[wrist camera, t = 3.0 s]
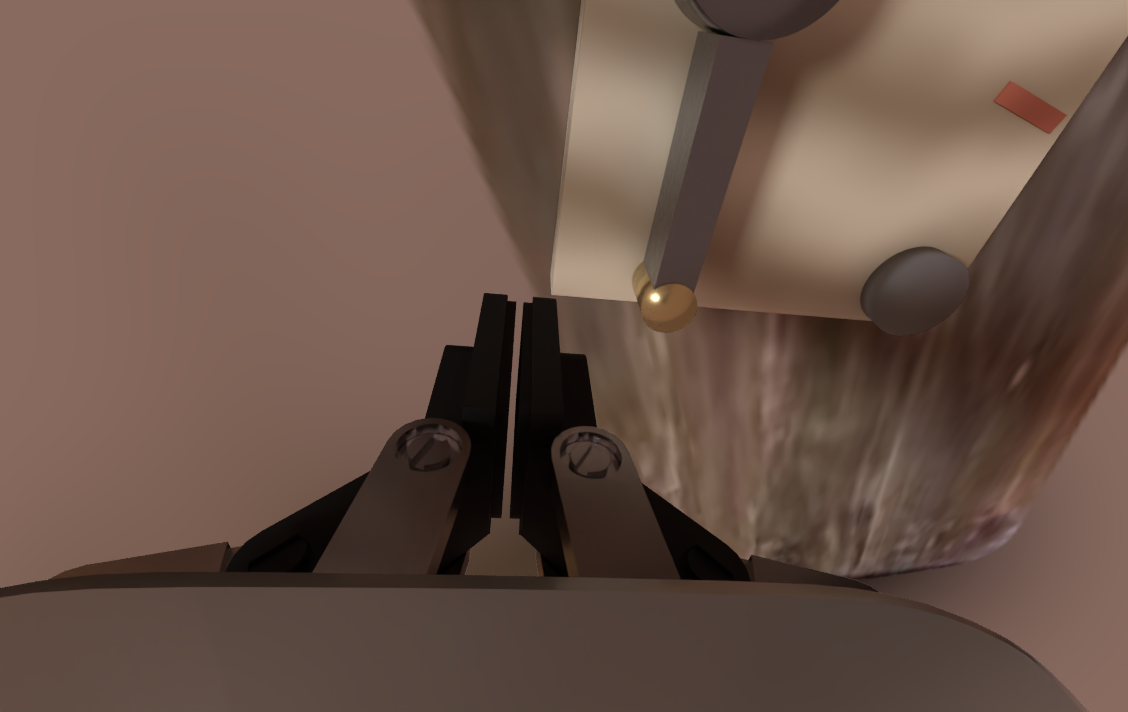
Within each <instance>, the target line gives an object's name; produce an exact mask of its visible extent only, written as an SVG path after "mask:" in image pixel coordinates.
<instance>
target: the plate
mask: <svg viewBox="0 0 1128 712" xmlns="http://www.w3.org/2000/svg"><path fill="white" fill-rule="evenodd" d="M698 31H702V32H709V31H707V30H704V29H702V28H700V27H698V26H697V25H695V24H694V23H692V22H691V21H690V20H689V19H688V18H687V17H686V16H685V15H684V14H683V13H682V12H681V10H680V9H679V8H678V6H677V4H676V3H675V1H674V0H581V8H580V17H579V26H578V35H577V44H576V53H575V61H574V70H573V79H572V88H571V97H570V106H569V114H568V123H567V132H566V141H565V150H564V159H563V168H562V176H561V185H560V194H559V203H558V212H557V221H556V229H555V238H554V247H553V256H552V265H551V274H550V277H551V295H562V296H574V297H586V298H598V299H610V300H622V301H634V302H637V299H636V296H635V293H634V290H633V287H632V276H633V273H634V271H635V269H636V268H637V267H638V265H639V264H640V263H642V262H643V261H644V257H645V252H646V248H647V244H648V240H649V236H650V231H651V227H652V223H653V219H654V215H655V210H656V206H657V202H658V198H659V193H660V189H661V185H662V181H663V177H664V172H665V168H666V164H667V160H668V156H669V151H670V147H671V143H672V139H673V135H674V130H675V126H676V122H677V118H678V114H679V109H680V105H681V101H682V97H683V93H684V88H685V84H686V80H687V76H688V71H689V67H690V63H691V59H692V55H693V50H694V46H695V42H696V38H697V34H698ZM709 33H713V32H709ZM715 34H717V33H715ZM1127 36H1128V0H839V1H838V2H837V3H836V5H835V6H834V7H833V8H831V9H830V10H829V11H828V12H827V13H826V14H825V15H823V16H822V17H821V18H820V19H818V20H817V21H815V22H814V23H812V24H811V25H810V26H808V27H806V28H804V29H802V30H800V31H799V32H796V33H794V34H791V35H789V36H786V37H782V38H778V39H773V40H760V41H766V42H771V43H774V45H773V48H772V51H771V54H770V57H769V60H768V63H767V67H766V70H765V73H764V76H763V79H762V82H761V85H760V88H759V92H758V95H757V98H756V101H755V104H754V107H753V110H752V113H751V117H750V120H749V123H748V126H747V129H746V132H745V135H744V138H743V141H742V145H741V148H740V151H739V154H738V157H737V160H736V163H735V166H734V170H733V173H732V176H731V179H730V182H729V185H728V188H727V191H726V195H725V198H724V201H723V204H722V207H721V210H720V213H719V216H718V220H717V223H716V226H715V229H714V232H713V235H712V238H711V241H710V244H709V248H708V251H707V254H706V257H705V260H704V263H703V266H702V269H701V273H700V276H699V279H698V282H697V285H696V288H695V291H694V294H695V296H696V299H697V304H698V306H697V307H707V308H719V309H731V310H743V311H756V312H768V313H780V314H792V315H804V316H816V317H828V318H840V319H853V320H865V321H873V322H874V323H875V324H876V325H877V326H878V327H879V328H880V329H881V330H882V331H884V332H886V333H888V334H891V335H896V336H905V335H912V334H916V333H920V332H922V331H925V330H927V329H930V328H932V327H933V326H935V325H937V324H939V323H940V322H942V321H943V320H944V319H946V318H947V317H948V316H949V315H950V314H951V313H953V312H954V311H955V309H956V308H957V307H958V306H959V305H960V303H961V302H962V300H963V299H964V297H965V295H966V293H967V291H968V288H969V283H970V277H969V272H968V270H967V269H968V267H969V266H970V265H971V263H972V262H973V260H974V259H975V257H976V256H977V254H978V253H979V251H980V250H981V248H982V247H983V246H984V244H985V243H986V241H987V240H988V238H989V237H990V235H991V234H992V232H993V231H994V230H995V228H996V227H997V225H998V224H999V222H1000V221H1001V219H1002V218H1003V216H1004V215H1005V214H1006V212H1007V211H1008V209H1009V208H1010V206H1011V205H1012V203H1013V202H1014V200H1015V199H1016V197H1017V196H1018V195H1019V193H1020V192H1021V190H1022V189H1023V187H1024V186H1025V184H1026V183H1027V181H1028V180H1029V179H1030V177H1031V176H1032V174H1033V173H1034V171H1035V170H1036V168H1037V167H1038V165H1039V164H1040V163H1041V161H1042V160H1043V158H1044V157H1045V155H1046V154H1047V152H1048V151H1049V149H1050V148H1051V146H1052V145H1053V144H1054V142H1055V141H1056V139H1057V138H1058V136H1059V135H1060V133H1061V132H1062V130H1063V129H1064V128H1065V126H1066V125H1067V123H1068V122H1069V120H1070V119H1071V117H1072V116H1073V114H1074V113H1075V112H1076V110H1077V109H1078V107H1079V106H1080V104H1081V103H1082V101H1083V100H1084V98H1085V97H1086V96H1087V94H1088V93H1089V91H1090V90H1091V88H1092V87H1093V85H1094V84H1095V82H1096V81H1097V79H1098V78H1099V77H1100V75H1101V74H1102V72H1103V71H1104V69H1105V68H1106V66H1107V65H1108V63H1109V62H1110V61H1111V59H1112V58H1113V56H1114V55H1115V53H1116V52H1117V50H1118V49H1119V47H1120V46H1121V45H1122V43H1123V42H1124V40H1125V39H1126V37H1127Z"/></svg>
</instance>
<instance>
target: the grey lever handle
mask: <svg viewBox="0 0 1128 712" xmlns="http://www.w3.org/2000/svg"><path fill="white" fill-rule="evenodd" d="M674 1H675V3H676V4H677V6H678V8H679V9H680V10H681V12H682V13H683V14H684V15H685V16H686V17H687V18H688V19H689V20H690V21H691V22H692V23H694V24H695V25H697V26H698V27H700V28H702V29H704V30H707V31H709V32H713V33H709V32H702V31H698V34H697V38H696V42H695V46H694V50H693V55H692V59H691V63H690V67H689V71H688V76H687V80H686V84H685V88H684V93H683V97H682V101H681V105H680V109H679V114H678V118H677V122H676V126H675V130H674V135H673V139H672V143H671V147H670V151H669V156H668V160H667V164H666V168H665V172H664V177H663V181H662V185H661V189H660V193H659V198H658V202H657V206H656V210H655V215H654V219H653V223H652V227H651V231H650V236H649V240H648V244H647V248H646V252H645V257H644V261H643V262H642V263H640V264H639V265H638V267H637V268H636V269H635V271H634V273H633V276H632V287H633V290H634V293H635V296H636V299H637V302H638V305H639V308H640V311H641V314H642V317H643V320H644V322H645V323H646V325H647V326H648V327H650V328H651V329H653V330H655V331H658V332H664V333H667V332H674V331H677V330H679V329H681V328H683V327H685V326H686V325H687V324H689V323H690V322H691V320H692V319H693V318H694V316H695V314H696V311H697V306H698V304H697V299H696V296H695V294H694V291H695V288H696V285H697V282H698V279H699V276H700V273H701V269H702V266H703V263H704V260H705V257H706V254H707V251H708V248H709V244H710V241H711V238H712V235H713V232H714V229H715V226H716V223H717V220H718V216H719V213H720V210H721V207H722V204H723V201H724V198H725V195H726V191H727V188H728V185H729V182H730V179H731V176H732V173H733V170H734V166H735V163H736V160H737V157H738V154H739V151H740V148H741V145H742V141H743V138H744V135H745V132H746V129H747V126H748V123H749V120H750V117H751V113H752V110H753V107H754V104H755V101H756V98H757V95H758V92H759V88H760V85H761V82H762V79H763V76H764V73H765V70H766V67H767V63H768V60H769V57H770V54H771V51H772V48H773V45H774V43H771V42H766V41H760V40H773V39H778V38H782V37H786V36H789V35H791V34H794V33H796V32H799V31H800V30H802V29H804V28H806V27H808V26H810V25H811V24H812V23H814V22H815V21H817V20H818V19H820V18H821V17H822V16H823V15H825V14H826V13H827V12H828V11H829V10H830V9H831V8H833V7H834V6H835V5H836V3H837V2H838V1H839V0H674ZM715 33H717V34H715Z"/></svg>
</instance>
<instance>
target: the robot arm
mask: <svg viewBox="0 0 1128 712" xmlns="http://www.w3.org/2000/svg"><path fill="white" fill-rule="evenodd" d="M507 298H508V296H507V295H502V294H490V293H484V297H483V302H482V307H481V312H480V317H479V323H478V328H477V333H476V338H475V344H474V347H468V346H454V345H446V346H445V349H444V352H443V356H442V359H441V363H440V366H439V370H438V373H437V377H436V381H435V385H434V388H433V391H432V395H431V399H430V403H429V406H428V409H427V413H426V417H425V419H420V420H415V421H413V422H411V423H408V424H405V425H404V426H402V427H401V428H399V429H398V430H396V431H395V432H394V433H393V435H392V436H391V437H390V438H389V440H388V441H387V443H386V444H385V446H384V448H383V450H382V451H381V453H380V455H379V457H378V458H377V460H376V462H375V464H374V465H373V467H372V469H371V471H369V472H367V473H366V474H364V475H362V476H360V477H358V478H357V479H355V480H353V481H351V482H349V483H348V484H346V485H344V486H342V487H341V488H339V489H337V490H335V491H333V492H331V493H330V494H328V495H326V496H324V497H322V498H321V499H319V500H317V501H315V502H313V503H312V504H310V505H308V506H306V507H304V508H303V509H301V510H299V511H297V512H295V513H294V514H292V515H290V516H288V517H286V518H285V519H283V520H281V521H279V522H277V523H275V524H274V525H272V526H270V527H268V528H267V529H265V530H263V531H261V532H260V533H258V534H257V535H256V536H254V537H252V538H251V539H250V540H248V541H247V542H246V543H245V544H244V545H243V546H240V547H234V548H231V547H230V545H229V543H228V542H223V543H216V544H211V545H204V546H198V547H192V548H186V549H180V550H174V551H168V552H162V553H155V554H149V555H143V556H137V557H131V558H125V559H119V560H113V561H107V562H101V563H94V564H89V565H84V566H80V567H77V568H74V569H70V570H66V571H64V572H62V573H60V574H58V575H56V576H54V577H52V578H50V579H48V580H42V581H35V582H30V583H24V584H19V585H13V586H8V587H2V588H0V712H1089V711H1088V710H1087V709H1086V708H1085V707H1084V706H1083V704H1081V702H1080V701H1079V700H1078V699H1077V698H1076V697H1075V696H1074V695H1073V694H1072V693H1071V692H1070V691H1069V690H1068V689H1067V688H1066V687H1065V686H1064V685H1063V684H1062V683H1061V682H1060V681H1059V680H1058V679H1057V678H1056V677H1055V676H1054V675H1053V674H1052V673H1051V672H1050V671H1049V670H1048V669H1047V668H1046V667H1044V666H1043V665H1042V664H1041V663H1040V662H1038V661H1037V660H1036V659H1035V658H1034V657H1033V656H1032V655H1030V654H1029V653H1027V652H1026V651H1025V650H1023V649H1022V648H1020V647H1019V646H1017V645H1016V644H1015V643H1013V642H1012V641H1010V640H1008V639H1006V638H1005V637H1003V636H1001V635H999V634H997V633H995V632H993V631H991V630H990V629H987V628H986V627H983V626H981V625H979V624H977V623H975V622H973V621H970V620H968V619H965V618H963V617H960V616H957V615H955V614H952V613H950V612H947V611H944V610H941V609H939V608H936V607H934V606H931V605H928V604H925V603H921V602H917V601H913V600H909V599H905V598H902V597H898V596H894V595H890V594H885V593H879V592H878V591H877V590H875V589H874V588H872V587H871V586H869V585H867V584H864V583H862V582H859V581H857V580H854V579H850V578H845V577H841V576H837V575H833V574H829V573H825V572H821V571H817V570H812V569H808V568H804V567H800V566H796V565H792V564H788V563H783V562H779V561H775V560H771V559H767V558H763V557H759V556H755V555H751V556H750V558H749V560H745V559H741V558H739V556H738V555H737V554H736V553H735V552H734V551H733V550H732V549H731V548H730V547H729V546H728V545H726V544H725V543H724V542H722V541H721V540H720V539H718V538H717V537H716V536H714V535H713V534H711V533H710V532H709V531H707V530H706V529H705V528H703V527H702V526H700V525H699V524H698V523H696V522H695V521H693V520H692V519H691V518H689V517H688V516H687V515H685V514H684V513H682V512H681V511H680V510H678V509H677V508H676V507H674V506H673V505H671V504H670V503H669V502H667V501H666V500H664V499H663V498H662V497H660V496H659V495H658V494H656V493H655V492H653V491H652V490H651V489H649V488H648V487H647V486H645V485H644V484H642V483H641V480H640V478H639V475H638V473H637V471H636V468H635V466H634V463H633V461H632V458H631V456H630V453H629V451H628V450H627V448H626V446H625V445H624V443H623V442H622V441H621V440H620V439H619V438H617V437H616V436H615V435H613V434H612V433H610V432H608V431H606V430H604V429H600V428H597V426H596V419H595V412H594V405H593V399H592V392H591V385H590V378H589V372H588V365H587V359H586V356H585V355H584V354H569V353H560V345H559V331H558V317H557V303H556V299H551V298H539V297H533V302H532V303H526V302H524V305H523V318H522V330H521V342H520V355H519V368H518V381H517V393H516V410H515V429H514V447H513V466H512V485H511V504H510V518H516V519H520V524H519V525H520V526H519V535H521V536H523V537H524V538H525V539H526V540H527V541H528V542H529V543H530V544H531V545H532V546H533V547H534V548H536V564H537V570H538V576H539V577H536V576H535V577H534V576H532V577H531V576H484V575H479V576H478V575H465V573H466V569H467V566H468V562H469V557H470V548H472V547H473V546H474V545H475V544H477V543H478V542H479V541H480V540H482V539H483V538H484V537H485V536H487V535H488V534H490V524H491V518H501V515H502V501H503V486H504V471H505V456H506V443H507V429H508V415H509V401H510V386H511V372H512V357H513V342H514V328H515V313H516V312H515V311H516V302H513V301H507Z"/></svg>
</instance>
